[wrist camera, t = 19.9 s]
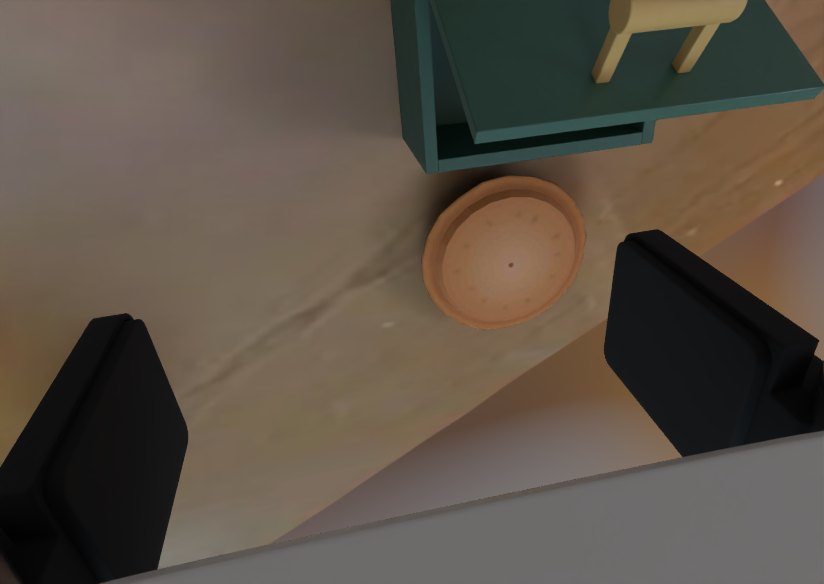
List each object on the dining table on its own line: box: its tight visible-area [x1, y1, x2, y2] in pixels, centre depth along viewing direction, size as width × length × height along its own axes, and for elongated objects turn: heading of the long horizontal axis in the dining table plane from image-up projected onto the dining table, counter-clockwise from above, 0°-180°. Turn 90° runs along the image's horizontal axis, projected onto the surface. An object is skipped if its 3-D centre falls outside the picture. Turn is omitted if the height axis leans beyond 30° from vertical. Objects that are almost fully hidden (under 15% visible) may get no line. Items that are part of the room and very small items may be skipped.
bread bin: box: [391, 0, 656, 174], centre depth 38 cm, size 14×17×10 cm
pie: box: [422, 175, 587, 330], centre depth 50 cm, size 15×16×5 cm
